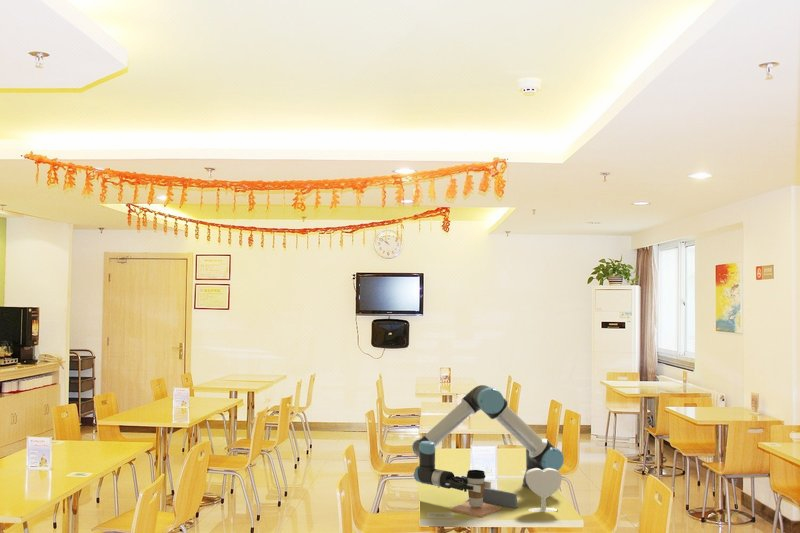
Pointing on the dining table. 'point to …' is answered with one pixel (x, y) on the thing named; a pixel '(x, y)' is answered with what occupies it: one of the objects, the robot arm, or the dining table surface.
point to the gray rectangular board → (500, 497)
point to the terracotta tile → (476, 509)
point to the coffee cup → (478, 479)
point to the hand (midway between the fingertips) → (485, 487)
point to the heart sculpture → (543, 485)
